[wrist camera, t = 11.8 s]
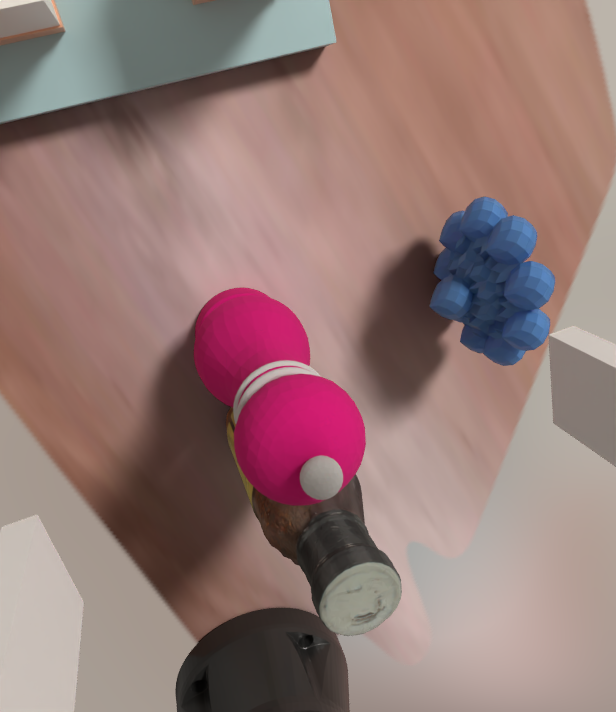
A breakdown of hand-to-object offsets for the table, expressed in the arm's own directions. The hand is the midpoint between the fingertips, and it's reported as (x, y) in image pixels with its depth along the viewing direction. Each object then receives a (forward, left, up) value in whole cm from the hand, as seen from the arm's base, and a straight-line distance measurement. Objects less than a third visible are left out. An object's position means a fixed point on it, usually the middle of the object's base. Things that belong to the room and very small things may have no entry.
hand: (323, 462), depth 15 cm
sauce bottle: (-13, -1, -27) cm, 30 cm away
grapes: (-6, -16, -27) cm, 32 cm away
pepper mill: (-6, -1, -27) cm, 28 cm away
